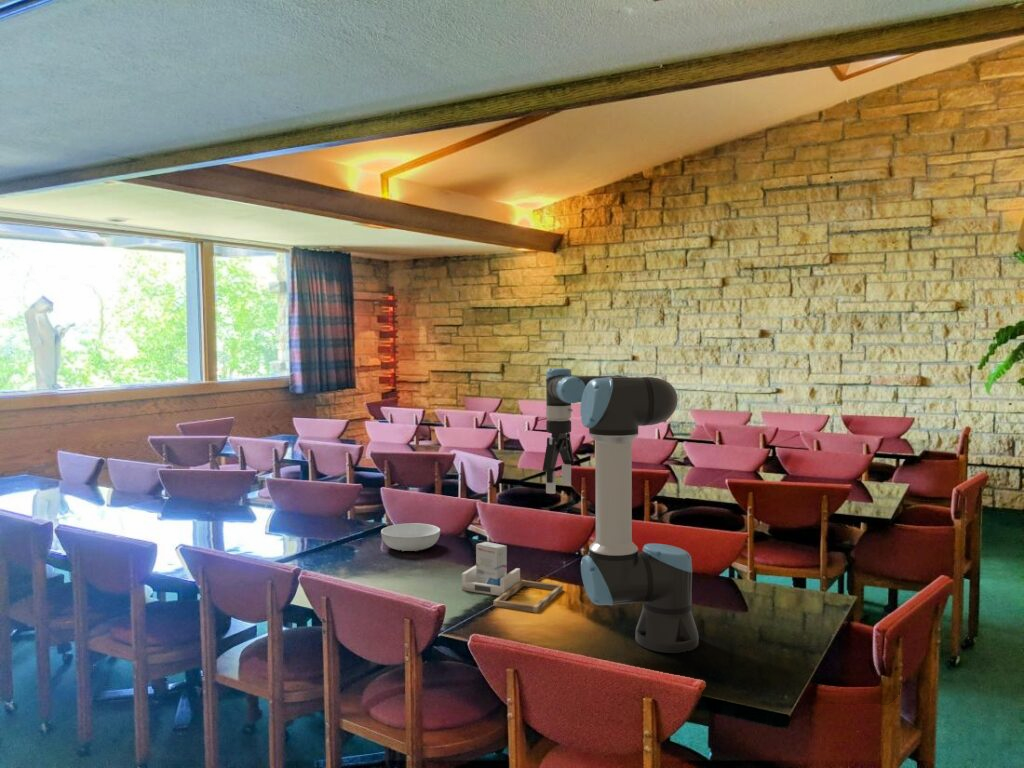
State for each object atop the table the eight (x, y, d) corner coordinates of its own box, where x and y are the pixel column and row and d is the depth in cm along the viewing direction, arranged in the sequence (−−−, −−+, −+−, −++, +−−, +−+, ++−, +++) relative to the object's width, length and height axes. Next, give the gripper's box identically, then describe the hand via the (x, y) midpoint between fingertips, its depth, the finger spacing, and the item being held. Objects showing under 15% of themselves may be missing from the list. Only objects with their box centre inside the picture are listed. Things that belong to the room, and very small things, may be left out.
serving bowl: (437, 556, 257) (436, 537, 256) (376, 556, 257) (375, 537, 256) (443, 540, 277) (443, 522, 277) (387, 540, 278) (386, 522, 277)
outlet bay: (503, 596, 216) (503, 579, 215) (461, 590, 221) (461, 573, 221) (520, 584, 226) (520, 568, 226) (479, 579, 232) (479, 563, 232)
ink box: (508, 584, 223) (507, 544, 223) (497, 588, 219) (497, 548, 219) (486, 578, 229) (485, 540, 228) (475, 582, 225) (475, 543, 224)
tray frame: (536, 612, 203) (536, 607, 203) (493, 606, 208) (493, 600, 208) (562, 590, 221) (562, 585, 221) (522, 584, 226) (522, 579, 226)
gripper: (555, 424, 213) (555, 497, 214) (583, 416, 236) (583, 483, 237) (531, 423, 216) (531, 495, 217) (561, 415, 239) (561, 481, 240)
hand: (558, 489), depth 227 cm, fingers open, 13 cm apart
